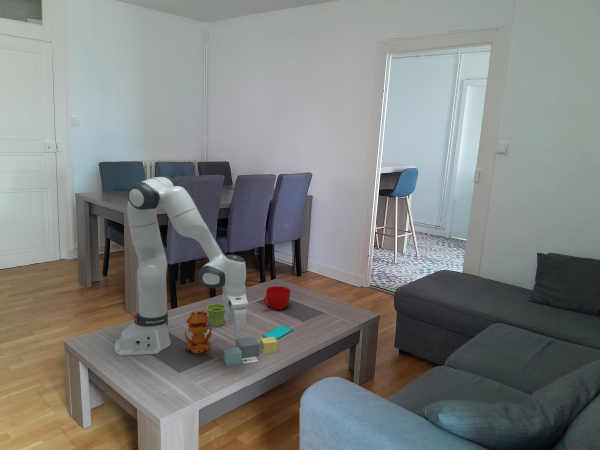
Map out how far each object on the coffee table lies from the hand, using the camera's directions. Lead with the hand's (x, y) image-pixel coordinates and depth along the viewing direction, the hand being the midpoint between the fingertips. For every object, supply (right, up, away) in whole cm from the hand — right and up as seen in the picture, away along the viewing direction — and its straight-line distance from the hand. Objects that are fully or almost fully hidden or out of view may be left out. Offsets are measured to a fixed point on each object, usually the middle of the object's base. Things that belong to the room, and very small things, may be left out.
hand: (234, 329), depth 174 cm
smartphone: (+16, -10, +31) cm, 37 cm away
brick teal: (-1, -14, +3) cm, 14 cm away
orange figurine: (-17, -11, +11) cm, 23 cm away
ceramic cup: (+13, -4, +61) cm, 62 cm away
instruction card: (+6, -14, +5) cm, 15 cm away
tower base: (+4, -12, +11) cm, 17 cm away
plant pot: (-14, -7, +38) cm, 41 cm away
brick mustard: (+13, -12, +14) cm, 23 cm away
